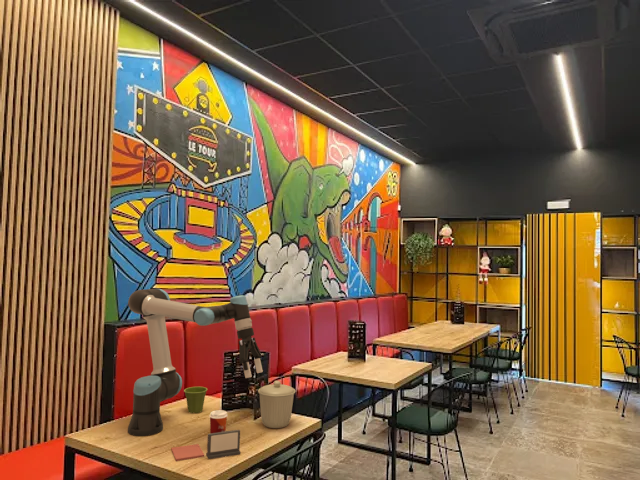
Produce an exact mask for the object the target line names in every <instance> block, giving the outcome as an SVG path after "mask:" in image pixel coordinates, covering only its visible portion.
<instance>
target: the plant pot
mask: <svg viewBox="0 0 640 480" xmlns="http://www.w3.org/2000/svg"><path fill="white" fill-rule="evenodd" d="M207 391H208V388H207V387H204V386H191V387H187V388H185V389H184V390H183V392H184V393H185V397H186V406H187V412H188V413H190V414H199V413H202V411H203V409H204V404H205V398H206V394H207Z"/></svg>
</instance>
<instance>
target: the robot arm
mask: <svg viewBox="0 0 640 480" xmlns="http://www.w3.org/2000/svg"><path fill="white" fill-rule="evenodd" d="M229 301H230V302H229V303H225V304H221V305H217V306H209V307H207V306H200V305H196V304H190V303H187V302H186V303H184V302H180V301H174V300H171V297H170V295H169V293H168V292H167V291H165V290H164V289H161V288H156V287H155V288H148V289H138V290H135V291H134V292H132V293H131V294H130V296H129V298H128V308H129V310H130V311H131V312H133V313H134V314H137V315H141V316H142V319H143V320H145V321H146V327H147V332H148V339H149V346H150V353H151V360H152V361H151V362H152V368H153V369H152V372H151V373H150V375H147V376H142V377H140V378H138V379H136V381H135V382H134V385H133V396H132V397H133V399H132V415H131V418H130V421H129V423H128V426H127V433H128V434H129V435H131V436H136V437H146V436H147V437H148V436H152V435H156V434H158V433H161V432H162V431H163V430H164V423H163V419H162V416H161V413H160V412H161V410H160V409H161V403H162V402H164V401H166V400H168V399H172V398H174V397H175V396H177V395H178V394H179V393H180V391H181V389H182V387H183V378H182V377H181V375H180V374H179V373H178V372H177V369H176V367H174V366H173V364H172V358H171V352H170V346H169V345H170V343H169V337H168V331H167V330H168V329H167V325H166V324H167V323H166V317H167V318H172V319H176V320H181V321H187V322H192V323H195V324H197V325H198V326H200V327H201V326H202V327H203V326H205V327H206V326H210V325H213V324H220V323H222V322H226V321H230V320H234V325H235V330H237V331H236V334H237V338H238V340H239V341H238V347H239V348H238V350H239V352H238V356H239V360H238V361H239V364H242V368H243V373H244V377H245V379H248V378H252V376H253V375H252V372H251V367H250V362H249V360H248V359H249V352H250V353H251V354H252V357H253V358H254V360H253V361H254V366H255V369H256V370H255V371H256V373H257V374H259V373H263V371H264V370H263V366H262V361H261V358H262V357H263V355H262V353H261V350H260V348H259V346H258V343H257V341H256V338H255V337H254V336H255V331H254V328H253V323H252V322H253V320H252V319H251V313H250V309H249V304H248V300H247V297H246V295H237V296H236V295H235V296H233V297H231V298H230V299H229Z"/></svg>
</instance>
